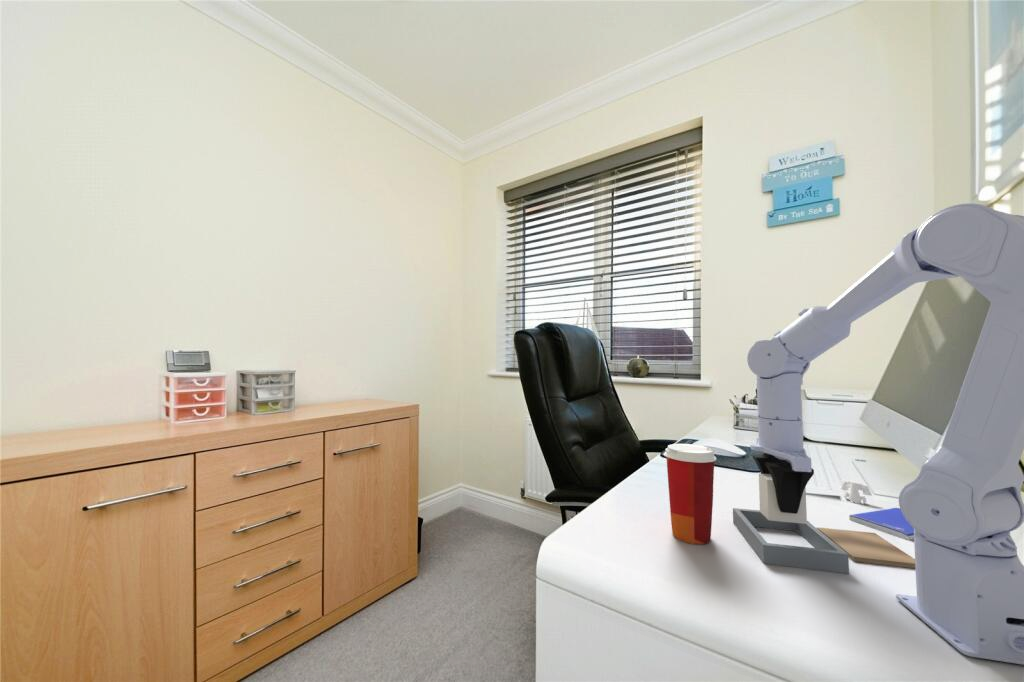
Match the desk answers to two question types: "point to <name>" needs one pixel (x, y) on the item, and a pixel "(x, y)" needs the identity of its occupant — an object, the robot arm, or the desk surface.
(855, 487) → the clip
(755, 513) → the tray
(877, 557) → the pad
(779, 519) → the block
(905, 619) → the desk surface
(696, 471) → the paper cup
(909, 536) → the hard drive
